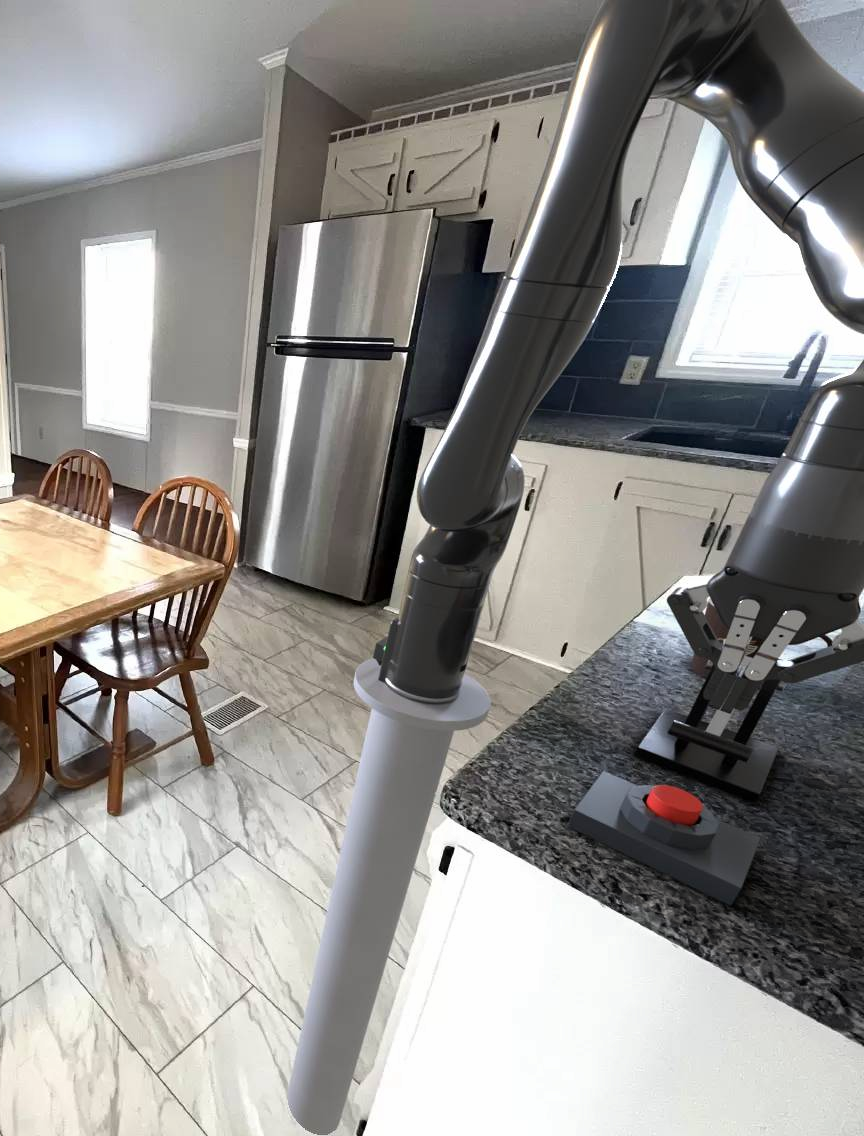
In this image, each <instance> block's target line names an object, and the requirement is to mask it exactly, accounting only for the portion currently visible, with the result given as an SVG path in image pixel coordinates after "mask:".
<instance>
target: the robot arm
mask: <svg viewBox="0 0 864 1136" xmlns="http://www.w3.org/2000/svg"><path fill="white" fill-rule="evenodd" d="M660 99H662V100H663V99H666V100H669V101H672V102H674V103H676V104H678V105H681V106H683V107H684V108H687V109H688V110H690V111H692V112H694V113H696V114H697V115H699V116H701V117H703V118H704V119H706V120H707V121H708V122H709V123H710V124H711V125H713V126H714V127H715V128H716V129H717V131H719V133H720V134H721V135H722V137H723V139H724V140H725V141H726V144H727V147H728V149H729V154H730V159H731V162H732V166H733V167H732V168H733V170H734V173H735V176H736V178H737V180H738V182H739V184H740V186H741V187H742V189H743V190H744V192H745V193H746V195H747V196H748V197H749V198H750V200H751V201H752V202H753V203H754V204H755V205H756V206H757V207H758V209H759V210H760V211H761V212H762V213H763V214H764V215H765V216H766V217H767V218H768V219H769V220H770V221H771V222H772V223H773V224H774V225H775V226H776V227H777V228H778V229H779V231H781V232H782V233H783V234H784V235H785V236H786V237H787V238H788V239H789V240H790V241H791V242H793V243H794V244H795V245H796V246H797V249H798V251H799V255H800V259H801V263H802V264H803V268H804V270H805V272H806V274H807V277H808V278H809V281H810V284H811V285H812V287H813V290H814V292H815V294H816V296H817V298H818V299H819V301H820V303H821V304H822V305H823V307H824V308H825V309H826V311H828V313H830V315H832V316H833V318H835V319H836V320H837V321H838V322H840V323H841V324H842V325H844V326H846V327H847V328H849V329H850V330H852V331H854V332H856V333H858V334H861V335H864V91H863V90H862V89H860V88H859V87H858V86H857V85H855V84H854V83H853V82H851V81H850V80H849V79H848V78H847V77H845V76H844V75H842V74H841V73H840V72H839V71H838V70H837V69H835V68H834V67H833V66H832V65H831V64H830V63H829V62H828V61H826V59H825V58H824V57H823V56H822V55H821V54H820V53H819V52H818V51H817V50H816V48H815V47H813V45H812V44H811V42H810V41H809V40H808V38H807V37H806V36H805V35H804V33H803V32H802V31H801V29H800V28H799V27H798V26H797V24H796V22H795V21H794V18H792V15H791V14H790V12H789V10H788V9H787V8H786V6H785V4H784V2H783V0H603V1H602V3H601V4H600V5H599V8H598V10H597V11H596V14H595V16H594V17H593V20H592V21H591V23H590V25H589V28H588V29H587V33H586V35H585V37H584V40H583V42H582V45H581V48H580V51H579V54H578V57H577V60H576V63H575V65H574V69H573V73H572V76H571V80H570V83H569V86H568V90H567V92H566V97H565V100H564V104H563V107H562V111H561V114H560V117H559V121H558V125H557V128H556V131H555V134H554V137H553V142H552V145H551V148H550V152H549V155H548V158H547V161H546V164H545V167H544V170H543V172H542V176H541V179H540V182H539V184H538V187H537V190H536V192H535V195H534V198H533V201H532V202H531V207H530V209H529V212H528V215H527V218H526V221H525V223H524V225H523V228H522V231H521V234H520V237H519V239H518V242H517V245H516V247H515V249H514V252H513V254H512V256H511V259H510V261H509V264H508V266H507V268H506V269H505V272H504V276H503V278H502V279H501V282H500V286H499V288H498V291H497V293H496V296H495V298H494V301H493V303H492V306H491V309H490V312H489V314H488V317H487V320H486V323H485V326H484V328H483V332H482V335H481V337H480V340H479V342H478V345H477V348H476V350H475V354H474V356H473V358H472V361H471V364H470V366H469V369H468V372H467V374H466V378H465V379H464V383H463V386H462V389H461V392H460V393H459V397H458V400H457V403H456V405H455V407H454V409H453V412H452V414H451V416H450V418H449V420H448V422H447V424H446V426H445V428H444V429H443V432H442V434H441V436H440V438H439V440H438V442H437V444H436V446H435V448H434V450H433V452H432V453H431V456H430V457H429V460H428V461H427V463H426V465H425V467H424V469H423V471H422V473H421V476H420V478H419V480H418V483H417V488H416V504H417V507H418V510H419V513H420V515H421V516H422V519H424V521H425V522H426V523H427V524H429V527H428V528H427V530H426V532H425V534H424V536H423V537H422V539H421V540H420V542H418V544H417V545H416V546H415V547H414V549H413V551H412V555H411V558H410V562H409V567H408V572H407V576H406V580H405V585H404V589H403V594H402V598H401V603H400V607H399V612H398V616H397V617H396V618H394V619H393V620H391V622H390V624H389V628H388V633H387V636H385V637H384V638H382V639H381V640H379V641H377V642H376V643H375V647H374V649H373V656H372V658H373V659H376V661H377V662H378V664H379V665H381V669H380V673H379V678H378V680H379V681H381V682H383V683H385V684H386V685H387V687H388V688H389V689H391V690H392V691H393V692H395V693H396V694H398V695H400V696H402V697H404V698H407V699H409V700H412V701H416V702H420V703H425V704H437V705H438V704H447V703H451V702H453V701H455V700H456V699H457V698H458V696H459V693H460V687H461V684H462V679H463V676H464V673H465V672H466V670H467V668H468V666H469V663H470V661H469V660H470V655H471V652H472V648H473V644H474V641H475V637H476V634H477V631H478V628H479V623H480V620H481V616H482V613H483V610H484V606H485V603H486V599H487V595H488V593H489V589H490V585H491V581H492V578H493V575H494V572H495V570H496V568H497V566H498V564H499V563H500V561H501V560H502V558H503V556H504V554H505V552H506V549H507V546H508V544H509V541H510V538H511V535H512V532H513V529H514V525H515V522H516V519H517V517H518V514H519V510H520V507H521V503H522V500H523V497H524V491H525V480H526V479H525V473H524V468H523V466H522V464H521V463H520V461H519V460H518V459H517V457H516V456H515V455H513V453H514V451H515V448H516V445H517V443H518V441H519V438H520V437H521V434H522V432H523V430H524V428H525V426H526V424H527V422H528V421H529V419H530V417H531V416H532V414H533V412H534V411H535V410H536V408H537V406H538V405H539V404H540V402H541V401H542V400H543V398H544V397H545V396H546V395H547V394H548V392H549V390H550V389H551V388H552V387H553V385H554V384H555V382H557V380H558V379H559V377H560V376H561V375H562V374H563V372H564V371H565V369H566V368H567V367H568V365H570V362H571V361H572V359H573V358H574V356H575V355H576V354H577V352H578V350H580V348H581V346H582V344H583V342H584V341H585V339H586V338H587V335H588V334H589V332H590V330H591V328H592V326H593V324H594V323H595V321H596V318H597V316H598V314H599V312H600V309H601V307H602V305H603V303H604V302H605V299H606V297H607V294H608V292H609V291H610V287H611V286H612V284H613V281H614V279H615V278H616V274H617V271H618V268H619V265H620V260H621V255H622V247H623V180H624V179H623V178H624V173H625V165H626V161H627V157H628V153H629V150H630V147H631V144H632V141H633V138H634V136H635V134H636V131H637V128H638V127H639V124H640V122H641V118H642V116H643V114H644V111H645V109H646V107H647V105H648V102H649V100H660ZM863 591H864V358H863V359H862V361H861V362H860V363H859V365H858V366H856V367H855V368H854V369H852V370H850V371H849V372H846V373H844V374H841V375H838V376H836V377H833V378H831V379H829V380H827V381H825V382H823V383H822V384H820V385H819V386H818V387H817V388H816V390H815V391H814V392H813V393H812V394H811V396H810V398H809V399H808V401H807V402H806V404H805V406H804V408H803V409H802V412H801V414H800V416H799V419H798V420H797V423H796V424H795V427H794V429H793V431H792V433H791V435H790V437H789V439H788V441H787V444H786V446H785V448H784V450H783V453H782V454H781V455H780V458H779V459H778V461H777V462H776V464H775V465H774V467H773V468H772V469H771V471H770V473H769V474H768V476H767V478H766V479H765V481H764V483H763V484H762V486H761V488H760V490H759V492H758V495H757V496H756V498H755V500H754V503H753V505H752V507H751V509H750V511H749V513H748V515H747V517H746V520H745V522H744V524H743V525H742V528H741V531H740V533H739V535H738V537H737V538H736V541H735V543H734V544H733V547H732V550H731V552H730V554H729V556H728V557H727V560H726V562H725V563H724V566H723V568H722V569H721V570H720V571H719V572H717V573H716V574H714V575H713V576H712V577H711V578H710V579H709V580H708V581H707V583H706V584H702V585H698V586H694V587H686V586H680V587H677V588H675V589H674V590H673V592H671V593H670V594H669V595H668V596H667V598H666V603H667V605H668V607H669V609H670V611H671V613H672V614H673V617H674V619H675V621H676V622H677V624H678V626H679V628H680V629H681V631H682V633H683V635H684V637H685V639H686V641H687V643H688V645H689V646H690V648H691V650H692V653H693V655H694V654H696V655H697V656H699V657H705V658H706V659H708V660H710V661H711V662H712V663H713V664H714V665H715V670H714V672H713V674H712V676H711V678H710V680H709V682H708V684H707V686H706V688H705V690H704V692H703V695H704V699H707V700H710V701H711V702H710V704H709V706H708V708H712V709H713V710H716V711H717V710H719V709H720V708H721V709H720V711H723V712H726V713H729V714H731V713H732V711H733V709H735V710H737V711H740V712H742V711H744V710H746V709H747V708H748V707H749V705H750V704H751V702H752V700H753V699H754V698H755V696H756V693H757V691H758V689H759V688H760V685H762V684H763V683H764V681H765V680H770V679H773V680H781V681H783V682H785V683H787V684H796V683H799V682H802V681H805V680H806V681H807V680H809V679H812V678H816V677H819V676H822V675H824V674H828V673H832V672H834V671H835V672H836V671H838V670H841V669H844V668H847V667H850V666H854V665H857V664H859V663H862V662H863V663H864V624H863V623H862V621H860V620H859V617H860V615H861V612H862V608H861V605H860V597H861V595H862V593H863ZM708 598H709V599H710V598H711V600H712V602H713V604H714V607H715V609H716V611H717V613H718V615H719V617H720V619H721V621H722V623H723V624H724V625H725V626H726V627H727V628H729V629H730V630H729V632H728V635H727V638H726V641H725V643H724V645H723V644H721V643H719V641H718V639H717V637H716V635H715V633H714V632H713V630H712V628H711V626H710V624H709V622H708V620H707V619H706V617H705V612H704V611H705V610H706V608H707V605H708ZM839 630H841V632H840V633H838V634H837V635H834V637H833V639H832V646H829V647H827V646H826V647H823V648H821V649H817V650H815V651H811V652H809V653H806V654H802V655H800V656H797V657H794V658H791V659H787V660H788V661H786V660H785V661H780V660H778V659H780V657H781V655H782V654H783V653H784V651H785V650H786V649H787V647H788V646H796V645H802V644H805V643H807V642H810V641H813V640H815V639H818V638H820V637H821V636H823V635H828V634H831V633H834V632H836V631H839ZM752 637H758V638H761V639H763V640H765V641H764V643H763V644H762V646H761V647H760V649H759V650H758V652H757V653H756V655H755V656H754V658H753V659H752V661H750V662H749V664H748V665H747V667H746V668H743V669H742V667H739V666H740V664H741V662H742V660H743V659H744V656H745V653H746V651H747V648H748V646H749V643H750V641H751V639H752ZM741 669H742V670H741ZM740 671H741V672H740ZM739 673H740V674H739ZM738 674H739V675H738ZM737 676H738V677H737ZM736 678H737V679H736ZM735 680H736V681H735ZM734 682H735V683H734ZM727 695H728V696H727ZM726 697H727V698H726ZM725 699H726V700H725ZM724 701H725V702H724ZM721 706H722V707H721ZM732 714H733V713H732Z"/></svg>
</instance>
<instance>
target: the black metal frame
mask: <svg viewBox="0 0 864 1136" xmlns="http://www.w3.org/2000/svg"><path fill="white" fill-rule="evenodd" d="M778 660H780V661H786V659H781V658H778ZM705 669H708V670H710V671H709V673H708V675H707V678H705V680H704V682H703V684H702V685H701V688H700V690H699V692H698V694H697V696H696V698H695V700H694V702H693V705H692V707H691V709H690V711H689V713H688V715H687V714H684V713H681V712H678V711H676V710H675V711H674V710H672V709H670V708H669V709H668V708H664V709H663V710H662V712H661V713H660V715H659V716H658V717H657V719H656V720H655V722H654V723H653V724H652V726H651V727H650V728H649V730H648V731H647V733H646V734H645V736H644V737H643V739H642V740H641V741H640V743H639V744H638V746H637V747H636V749H635V751H634V754H633V755H634V756H635V757H638V758H640V759H643V760H645V761H648V762H651V763H653V764H656V765H658V766H661V767H663V768H666V769H669V770H671V771H673V772H676V773H678V774H681V775H683V776H686V777H689V778H691V779H693V780H696V781H699V782H701V783H704V784H706V785H709V786H711V787H713V788H716V789H718V790H721V791H724V792H726V793H729V794H732V795H733V796H737V797H738V798H739V797H740V798H742V799H744V800H747V801H750V802H751V803H756V802H757V801H758V798H759V797H760V796H761V793H762V790H763V789H764V786H765V783H766V781H767V779H768V776H769V773H770V771H771V769H772V766H773V763H774V761H775V759H776V756H777V755H778V752H779V749H780V747H779V746H777V745H774V744H771V743H768V742H765V741H762V740H759V739H757V738H754V737H751V736H752V735H753V733H754V731H755V729H756V727H757V725H758V723H759V722H760V720H761V718H762V716H763V715H764V712H765V711H766V709H767V707H768V705H769V704H770V701H771V700H772V698H773V696H774V694H775V692H776V691H779V692H783V691H784V689H785V687H786V686H787V684H788V683H785V682H783V681H781V680H773V679H770V680H765V681H763V682H762V683H761V687H759V688H760V689H759V690H758V692H757V694H756V695H755V697H754V700H753V701H752V703H751V705H750V707H749V709H748V711H747V713H746V715H745V717H744V718H743V720H742V722H741V724H740V725H739V728H738V730H737V731H734V730H730V729H727V728H726V727H725V728H724V730H723V732H722V734H721V736H720V737H723V738H726V739H729V740H732V741H735V742H737V743H740V744H743V745H746V746H749V747H752V748H754V750H753V752H752V754H751V756H750V758H749V759H748V761H747V762H743V761H741V760H738V759H735V758H732V757H730V756H727V755H724V754H721V753H719V752H716V751H713V750H710V749H708V748H705V747H702V746H699V745H697V744H694V743H691V742H688V741H686V740H683V739H680V738H677V737H675V736H672V735H669V734H667V732H668V730H669V728H670V726H671V724H672V722H673V721H678V722H680V723H683V724H686V725H689V726H692V727H695V728H698V729H700V730H703V731H706V729H707V727H708V726H709V724H710V722H707V721H704V720H703V718H704V717H705V715H706V712H707V710H708V708H709V704H710V702H711V701H710V700H707V699H704V695H703V692H704V690H705V688H706V686H707V684H708V682H709V680H710V678H711V676H712V674H713V672H714V670H715V665H714V664H713V663H712V662H711V661H710V660H709V661H708V663H707V665H706V667H705Z"/></svg>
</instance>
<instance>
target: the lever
mask: <svg viewBox="0 0 864 1136" xmlns="http://www.w3.org/2000/svg"><path fill="white" fill-rule="evenodd" d="M752 659H753V658H750V657H746V656H744V659H743V660H742V662H741V664H740V666H739V667H742V669H743V668H746V667H747V665H748V664H749V662H750V661H752ZM742 669H741V670H742ZM740 672H741V671H740ZM739 674H740V673H739ZM739 674H738V675H739ZM737 677H738V676H737ZM736 679H737V678H736ZM735 681H736V680H735ZM734 683H735V682H734ZM727 696H728V695H727ZM726 698H727V697H726ZM725 700H726V699H725ZM724 702H725V701H724ZM721 707H722V706H721ZM720 709H721V708H720ZM720 709H719V710H717V709H716V711H715V713H714V715H713V717H712V719H711V720H710V722H709V723H710V724H709V726H708V727H707V729H706V731H703V730H700V729H698V728H695V727H692V726H689V725H686V724H683V723H680V722H678V721H673V722H672V724H671V726H670V728H669V730H668V732H667V734H669V735H672V736H675V737H677V738H680V739H683V740H686V741H688V742H691V743H694V744H697V745H699V746H702V747H705V748H708V749H710V750H713V751H716V752H719V753H721V754H724V755H727V756H730V757H732V758H735V759H738V760H741V761H743V762H747V761H748V759H749V758H750V756H751V754H752V752H753V750H754V748H752V747H749V746H746V745H743V744H740V743H737V742H735V741H732V740H729V739H726V738H723V737H720V736H721V734H722V732H723V730H724V728H725V729H726V726H727V725H728V723H729V721H730V719H731V718H732V715H733V713H734V712H735V710H736V709H733V711H732V713H731V714H729V713H726V712H723V711H720Z"/></svg>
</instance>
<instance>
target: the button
mask: <svg viewBox="0 0 864 1136" xmlns="http://www.w3.org/2000/svg"><path fill="white" fill-rule="evenodd" d="M646 806H647V808H648V809H650V810H651V811H652V812H654V813H655V814H656V815H658V816H660V817H662V818H664V819H667V820H669V821H671V822H673V823H678V824H683V825H687V826H690V825H693V824H695V823H696V821H697V819H698V817H699V815H700V813H701V812H702V810H703V806H704V805H703V803H702V802H701V800H700V799H699V798H698V797H697V796H695V795H693V794H692V793H690V792H688V791H686V790H684V789H682V788H679V787H676V786H672V785H667V784H658V785H657V784H656V785H655V787H653V788H652V790H651V792H650V794H649V797H648V799H647V801H646Z"/></svg>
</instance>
